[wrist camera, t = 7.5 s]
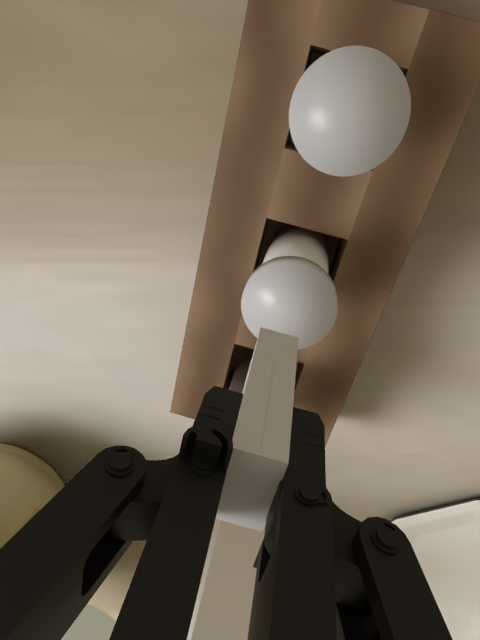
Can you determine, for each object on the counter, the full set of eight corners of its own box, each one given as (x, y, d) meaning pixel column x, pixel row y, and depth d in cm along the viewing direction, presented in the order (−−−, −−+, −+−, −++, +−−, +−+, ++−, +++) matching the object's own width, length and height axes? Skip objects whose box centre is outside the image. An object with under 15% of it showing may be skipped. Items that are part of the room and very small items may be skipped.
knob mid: (255, 275, 31) (232, 335, 24) (272, 208, 29) (253, 250, 21) (321, 293, 31) (320, 360, 23) (344, 228, 29) (351, 277, 21)
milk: (227, 490, 44) (151, 796, 25) (277, 520, 45) (241, 842, 25) (197, 522, 47) (108, 819, 28) (245, 550, 48) (190, 860, 28)
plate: (415, 466, 40) (418, 479, 38) (633, 535, 39) (644, 551, 38) (337, 591, 49) (337, 605, 47) (512, 649, 48) (518, 664, 47)
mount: (187, 376, 39) (170, 412, 34) (266, -11, 26) (254, -34, 21) (321, 414, 38) (321, 456, 34) (472, 39, 25) (503, 27, 21)
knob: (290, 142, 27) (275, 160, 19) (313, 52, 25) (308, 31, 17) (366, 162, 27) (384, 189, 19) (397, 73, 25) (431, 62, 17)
